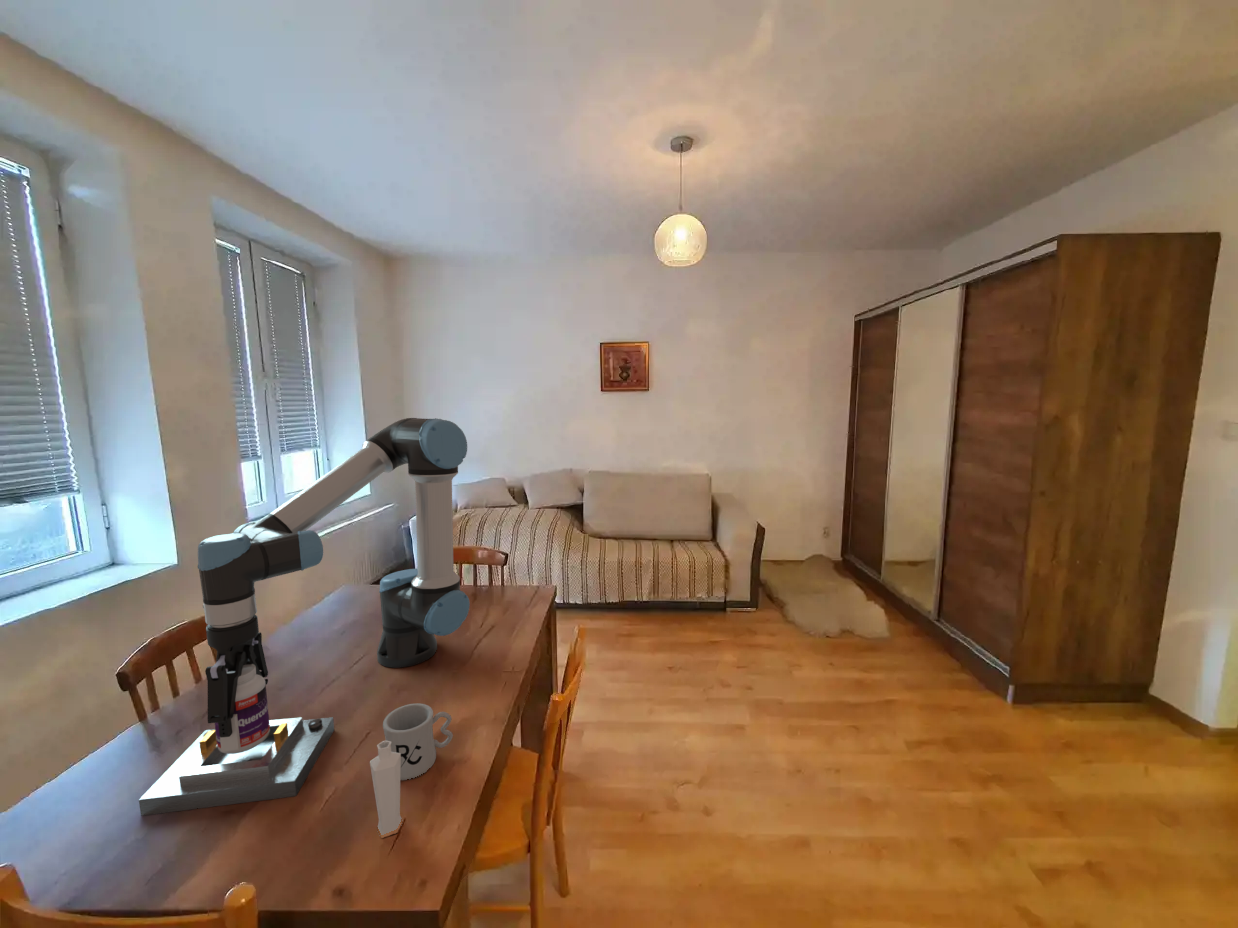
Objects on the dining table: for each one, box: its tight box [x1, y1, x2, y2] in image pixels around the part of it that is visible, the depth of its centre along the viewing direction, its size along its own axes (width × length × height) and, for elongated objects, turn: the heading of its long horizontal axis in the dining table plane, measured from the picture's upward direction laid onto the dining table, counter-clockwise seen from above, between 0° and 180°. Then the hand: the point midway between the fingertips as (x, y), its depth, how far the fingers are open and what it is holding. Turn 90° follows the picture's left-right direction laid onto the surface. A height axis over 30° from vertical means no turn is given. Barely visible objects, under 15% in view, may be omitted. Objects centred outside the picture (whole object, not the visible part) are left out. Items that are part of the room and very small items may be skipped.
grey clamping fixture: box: [138, 716, 335, 816], centre depth 96 cm, size 24×18×8 cm
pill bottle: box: [214, 664, 270, 754], centre depth 95 cm, size 8×8×14 cm
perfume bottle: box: [369, 739, 403, 835], centre depth 82 cm, size 5×4×15 cm
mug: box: [382, 703, 454, 781], centre depth 97 cm, size 12×9×10 cm
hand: (244, 733), depth 95 cm, fingers closed on pill bottle, 8 cm apart
